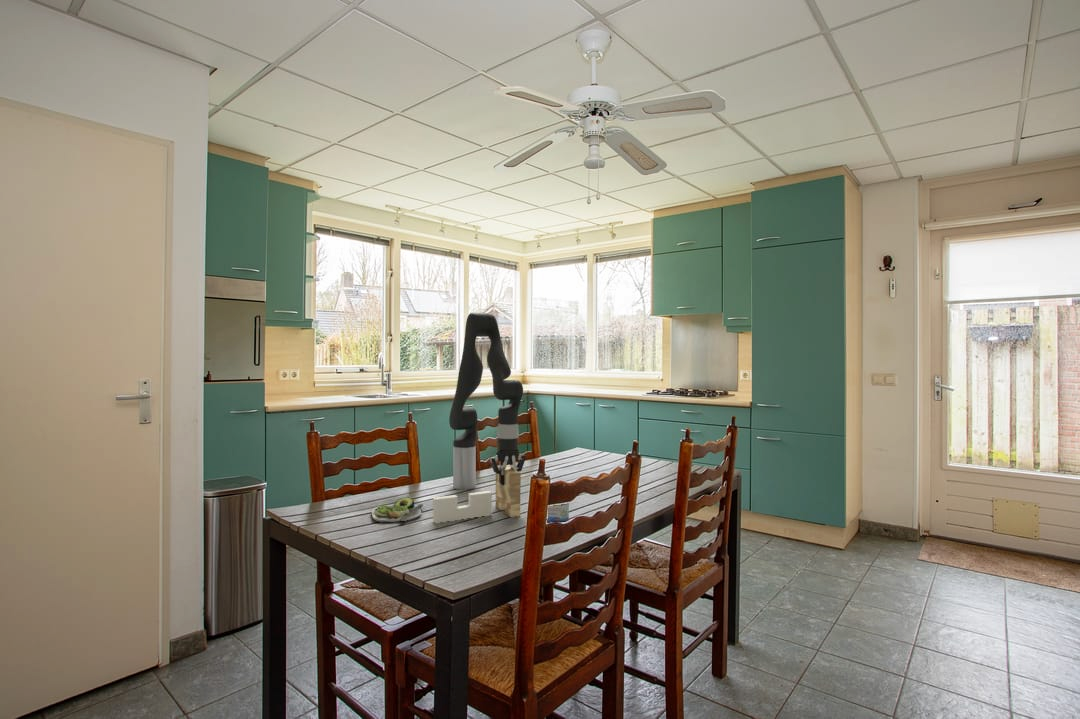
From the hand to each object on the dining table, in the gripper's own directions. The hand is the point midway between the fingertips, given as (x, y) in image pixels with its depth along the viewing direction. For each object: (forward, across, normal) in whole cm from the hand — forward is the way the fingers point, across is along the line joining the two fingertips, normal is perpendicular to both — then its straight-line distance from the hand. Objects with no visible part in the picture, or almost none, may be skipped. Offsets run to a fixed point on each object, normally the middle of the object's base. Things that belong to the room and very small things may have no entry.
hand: (507, 484), depth 193 cm
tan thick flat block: (+10, 0, 0) cm, 10 cm away
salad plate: (+10, +36, -13) cm, 40 cm away
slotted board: (+10, +17, +1) cm, 20 cm away
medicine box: (+10, -11, +16) cm, 22 cm away
